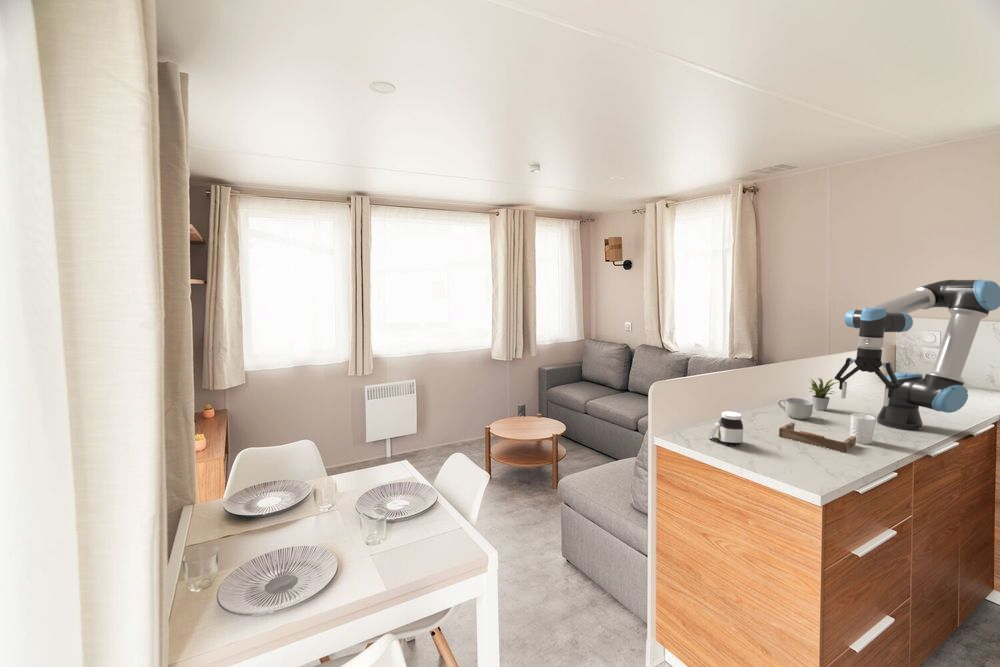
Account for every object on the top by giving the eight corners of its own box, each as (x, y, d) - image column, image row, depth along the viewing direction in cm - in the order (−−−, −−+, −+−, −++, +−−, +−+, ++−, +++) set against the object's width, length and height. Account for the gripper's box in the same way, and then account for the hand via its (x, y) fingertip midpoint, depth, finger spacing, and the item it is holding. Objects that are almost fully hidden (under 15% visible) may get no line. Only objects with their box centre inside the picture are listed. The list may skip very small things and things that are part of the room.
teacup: (816, 418, 214) (817, 401, 213) (805, 422, 208) (806, 405, 207) (783, 411, 225) (785, 395, 224) (772, 415, 219) (773, 398, 218)
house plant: (842, 409, 229) (845, 376, 227) (839, 415, 218) (842, 381, 216) (807, 404, 238) (810, 372, 236) (803, 409, 228) (806, 376, 226)
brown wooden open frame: (790, 430, 197) (791, 420, 197) (855, 445, 180) (856, 435, 179) (778, 436, 190) (779, 426, 189) (844, 452, 172) (845, 442, 172)
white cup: (878, 445, 180) (880, 420, 179) (854, 443, 182) (857, 418, 180) (866, 438, 188) (868, 414, 187) (844, 437, 189) (846, 413, 188)
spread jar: (744, 448, 177) (746, 418, 176) (713, 446, 179) (714, 416, 177) (734, 437, 189) (736, 409, 187) (704, 435, 191) (706, 408, 189)
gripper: (828, 344, 188) (823, 396, 190) (909, 353, 168) (902, 410, 171) (835, 343, 192) (830, 393, 195) (914, 351, 173) (907, 407, 175)
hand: (864, 401), depth 183 cm, fingers open, 13 cm apart
